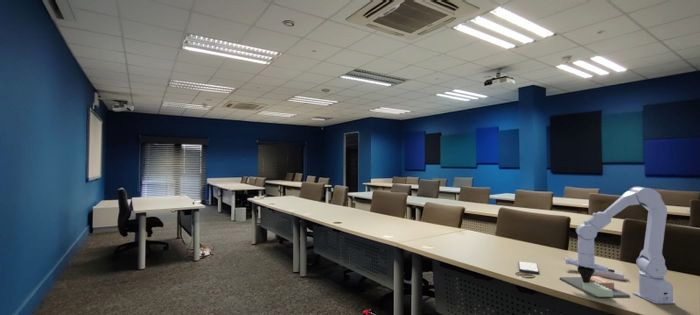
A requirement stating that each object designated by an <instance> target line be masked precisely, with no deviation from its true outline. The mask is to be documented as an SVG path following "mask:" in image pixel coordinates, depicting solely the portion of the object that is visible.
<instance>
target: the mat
mask: <svg viewBox="0 0 700 315" xmlns="http://www.w3.org/2000/svg"><path fill="white" fill-rule="evenodd" d="M559 280H560V281H562V282H564V283H566V284H568V285H570V286H572V287H574V288H575V289H577V290H580V291H582V292H583V291H584V293H586V294H588V295H590V296H591V297H593V298H599V297H598V296H596V295H594V294H592V293H590V292H588V291H586V290H584V289H582V283H583V280H582V277H581V276H577V277H575V276H569V277H568V276H566V277H565V276H564V277H563V276H559ZM611 290H613V297H612V298H630V297H631V296H630V294H628V293H626V292H624V291H622V290H619V289H617V288H615V287H614V289H611Z"/></svg>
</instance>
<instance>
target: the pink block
mask: <svg viewBox="0 0 700 315" xmlns="http://www.w3.org/2000/svg"><path fill="white" fill-rule="evenodd" d="M589 283H598V284H600V285H603V286H605V287H607V288H609V289H614V288H615V282H613V281H611V280H608V279H607V278H605V277H601V276H596V275H592V276H591V279H590V282H589Z"/></svg>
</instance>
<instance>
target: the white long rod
mask: <svg viewBox="0 0 700 315" xmlns="http://www.w3.org/2000/svg"><path fill="white" fill-rule="evenodd" d="M563 259H564V260H565V261H566V259H571V260H573V259H572V258H570V257H569V256H567V255H566V256H564V257H563ZM575 267H576V268H578V266H575ZM592 276H599V277H602V278H605V279H613V280H618V281H619V280H620V281H625V282H626V281H627V282H630V279H629V278H625V274H624V272H622V271H619V270H616V269H611V268H608V273H605V272H602V271H598V270H595V271H594V273H593V274H592Z"/></svg>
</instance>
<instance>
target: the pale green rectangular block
mask: <svg viewBox="0 0 700 315" xmlns="http://www.w3.org/2000/svg"><path fill="white" fill-rule="evenodd" d="M582 289H584V290H586V291H588V292H590V293H592V294H594V295H596V296H598V297H597V298H614V297H613V290H611V289H609V288H607V287H605V286H603V285H600V284H598V283H582Z"/></svg>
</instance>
